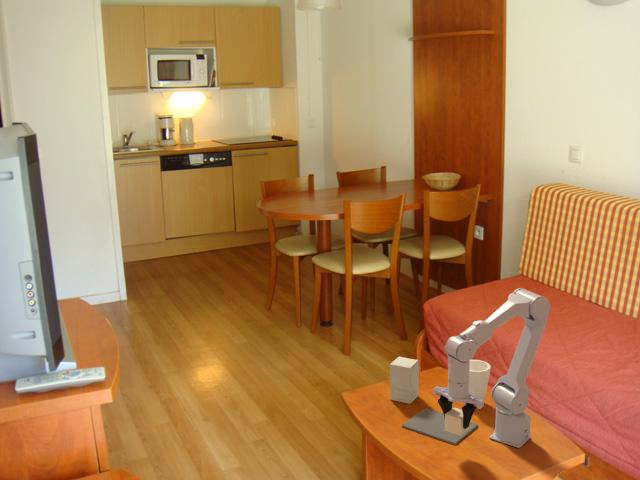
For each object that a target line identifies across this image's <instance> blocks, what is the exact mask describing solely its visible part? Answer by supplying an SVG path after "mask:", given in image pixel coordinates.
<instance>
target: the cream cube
mask: <svg viewBox="0 0 640 480" xmlns="http://www.w3.org/2000/svg"><path fill="white" fill-rule="evenodd" d="M468 429H469V427H468V428H467V429H464V428H463V412H462V408H457V407H452V409H451V410H450V411H448V412H447V413H446V414H445V431H448V432H451V433H454V434H457V435H460V436H461V435H462V434H463V433H465V432H466V431H467V430H468Z"/></svg>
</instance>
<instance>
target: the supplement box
mask: <svg viewBox="0 0 640 480" xmlns="http://www.w3.org/2000/svg"><path fill="white" fill-rule="evenodd" d="M419 365H420V364H419V359H414V358H410V357H409V358H408V357H403V356H398V357H396V358H395V359H394V360H393V361H392V362H391V363H390V364H389V400H391V401H394V402H395V401H396V402H399V403H405V404H409V405H411V403H413V402H414V401H415V400H416V399H417V397H419V380H420V379H419V374H420V373H419V371H420V369H419Z"/></svg>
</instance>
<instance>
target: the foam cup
mask: <svg viewBox="0 0 640 480" xmlns="http://www.w3.org/2000/svg"><path fill="white" fill-rule="evenodd" d="M490 375H491V364H490V363H488V362H487V361H484V360H480V359H471V360H470V368H469V393H470V394H472V395H474V396H476V397H477V398H479V399H482V400H484V402H485V399H486V394H487V391H488V390H487V389H488V383H489V378H490ZM463 404H464V405H466V403H463ZM484 405H485V403H484V404H483V406H484Z"/></svg>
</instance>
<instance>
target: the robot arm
mask: <svg viewBox="0 0 640 480" xmlns="http://www.w3.org/2000/svg"><path fill="white" fill-rule="evenodd" d="M551 307H552V306H551V304H550V302H549V300H548V298H547V297H546V296H543V295H540V294H537V293H535V292H532V291H530V290H527V289H526V288H524V287H519V288H518V287H517V288H516V289H515V290H514V291H513V292H511V293H509V295H508V298H507V300H506V302H504V303H503V304H502V305H501V306H499V308H497V309H496V310H495V311H494V312H493V313H492V314H491V315H490V316H489V317H488V318H486V319H485V320H477V321H476V320H475V321H474V322H473V323H472V325H471V326H469V327H468V328H467V329H465V330H464V331H462V332H461V333H460V334H459V335H453V336H450V337H449V338H448V339H447V341H446V343H445V345H444V346H443V349H444V352H445V353H446V355H447V361H448V364H447V365H448V366H447V370H448V371H447V387H441V386H438V385H437V386H435V387H434V388H433V392H432V393H433V396H436V397H437V396H439V399H437V404H438V405H439V406H440V408H441V411H442V413H443V414H444V418H445V414H446V413H447V412H448V411H450V410H451V409H452V408H453V405H454V403H456V402H459V403H462V404H464V403H466V405H465V404H464V405H463V406H462V407H461V410H462V412H463V428H464V429H467V428H468V427H469V424H470V422H472V421H471V420H472V418H473V415H474V413H475V411H476V409H479V410H481V409H482V408H483V407H484V405H485V401H484V400H482V399H479V398H477V397H476V396H474V395H472V394H470V393H469V368H470V360H473V357H474V356H475V353H476V352H477V351H478V349H479V348H480V347H481V346H482V345H483V344H485V343H486V342H488V341H489V340H490V339H491V338H493V334H494V333H493V332H494V331H495V330H497V329H498V328H499V327H501V326H502V325H504V324H505V323H507V322H508V321H510V320H512V319H513V318H514V317H520V318H521V317H522V320H523V322H524V326H523V329H522V332H521V335H520V337H519V339H518V343H517V345H516V347H515V348H516V349H515V351H514V354H513V356H512V360H511V362H510V364H509V367H508V370H507V373H506V374H504V375H501V376H500V377H498V379H497V382H496V384H495V385H494V386H493V387H492V389H491V392H490V397H491V399H492V401H493V402H494V406H495V421H494V422H495V425H494V427H495V428H494V432H493V433H491V435H489V439H491V440H493V441H496V442H499V443H502V444H505V445H509V446H512V447H514V448H516V449H517V448H518V449H520V448H521V447H523V445H524V444H526V443H527V441H529V440H530V438H531V437H532V436H531V435H530V434H531V421H532V419H531V415H530V414H528V413H527V412H525V411H526V409H527V407H528V405H529V404H528V403H529V395H530V393H531V392H530V391H531V390H530V389H529V387H528V384H527V382H526V381H527V377H528V375H529V373H530V370H531V368H532V365H533V361H534V359H535V358H536V357H535V356H536V353H537V352H538V348H539V346H540V343H541V341H542V337H543V335H544V332H545V329H546V328H547V327H546V326H547V323H548V320H547V319H548V317H549V314H550V311H551V309H552V308H551ZM483 404H484V405H483Z"/></svg>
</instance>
